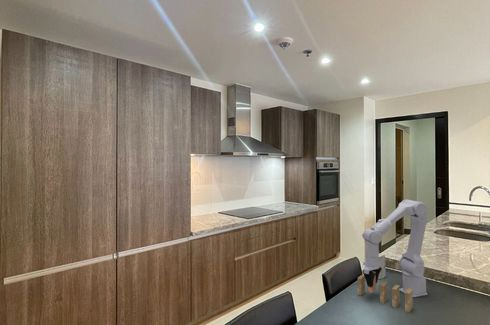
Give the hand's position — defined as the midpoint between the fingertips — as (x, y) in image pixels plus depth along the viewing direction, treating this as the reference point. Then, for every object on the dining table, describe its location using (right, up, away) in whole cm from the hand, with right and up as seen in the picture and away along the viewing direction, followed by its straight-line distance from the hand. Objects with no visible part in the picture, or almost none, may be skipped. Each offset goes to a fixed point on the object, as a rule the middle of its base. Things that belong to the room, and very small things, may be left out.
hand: (372, 284), depth 125 cm
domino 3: (+4, -6, -4) cm, 8 cm away
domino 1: (-3, -6, +4) cm, 8 cm away
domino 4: (+7, -6, -7) cm, 12 cm away
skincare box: (+14, -6, +21) cm, 26 cm away
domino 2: (0, -3, 0) cm, 3 cm away
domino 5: (+11, -6, -11) cm, 16 cm away
